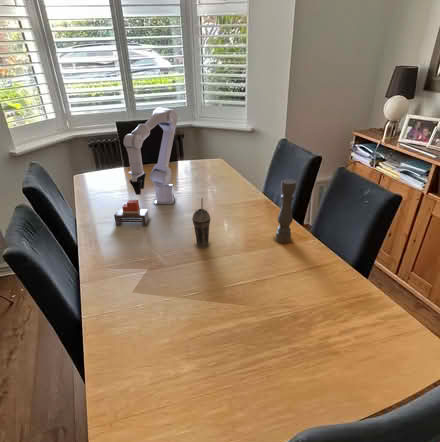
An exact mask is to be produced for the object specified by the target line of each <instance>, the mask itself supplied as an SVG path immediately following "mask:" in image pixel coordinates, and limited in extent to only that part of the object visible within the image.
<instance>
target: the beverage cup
mask: <svg viewBox="0 0 440 442" xmlns="http://www.w3.org/2000/svg"><path fill="white" fill-rule="evenodd" d="M200 199H201V203H200V204H201V207H200V208H199V209H196V210H195V211H194V213H193V214H192V224H193V227H194V234H195V241H196V246H197V247H198V248H200V249H201V248H208V246H209V240H210V239H209V238H210V237H209V236H210V224H211V216H210V212H208V211H207V210H206V209H204V208H203V205H204V198H203V197H201V198H200Z"/></svg>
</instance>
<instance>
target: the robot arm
mask: <svg viewBox="0 0 440 442" xmlns="http://www.w3.org/2000/svg"><path fill="white" fill-rule="evenodd" d="M177 124H178V114H177V111H176V109H174V108H163V107H156V108H155V109H154V110H153V111H152V115H150V117H149V118H148V120H147V121H145V123H139V124H138V125H137V127H136V128H135V129H134V130H132V131H131V133H127V134H126V135H125V136H124V137H123V142H122V143H123V146H124V147H125V148H126V152H127V156H128V163H129V169H130V170H129V171H128V175H130V177H131V178H130V179H129V183H130V185H131V186H132V189H133V191H134V193H135V195H136V196H137V195H138V196H139V195H141V194H142V190H144V189H145V181H146V177H147V172H145V171H144V166H143V165H144V164H143V159H142V152H141V148H142V147H143V143H144V141H145V140H146V139H147V138H148V137H149V136H150V134H151V130H153V129H155V127H156V126H159V127H160V128H161V129H162V131H163V133H162V138H161V143H160V148H159V153H158V158H157V163H156V164H155V165H154V166H153V167H152V170H151V172H150V175H149V179H150V182H152V184H153V185H154V193H155V201H154V204H155V205H159V204H160V205H169V204H170V205H173V204H174V202H175V190H174V184H171V182H172V179H173V177H172V173H173V172H172V169H171V168H170V167H169V165H170V158H171V153H172V148H173V143H174V138H175V133H176V128H177Z"/></svg>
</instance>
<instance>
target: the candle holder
mask: <svg viewBox="0 0 440 442" xmlns="http://www.w3.org/2000/svg"><path fill="white" fill-rule="evenodd" d="M296 190H297V180H295V179H293V178H284V179H282V180H281V181H280V191H281V195H280V199H281V208H280V210H279V213H278V215H277V222H278V227H277V228H276V232H275V241H276V242H278V243H280V244H287V243H290V242H291V239H292V238H291V237H292V232H291V231H292V229H291V227H290V226H291V225H292V223H293V220H294V218H293V211H292V209H293V208H292V205H293V204H292V203H293V200H294V199H295V195H294V194H295V192H296Z"/></svg>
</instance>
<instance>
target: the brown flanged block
mask: <svg viewBox="0 0 440 442" xmlns="http://www.w3.org/2000/svg"><path fill="white" fill-rule="evenodd" d="M113 217H114V218H113V219H114V221H115V222H114V223H115V226H120V224H121V223H134V224H135V223H136V224H137V223H139V224H140V223H142V224H143V226H147V224H148V222H149V220H150V218H149V217H150V216H149V210H148V209H147V208H140V211H139V213H138V214H123V208H122V209H121V208H118V209H117V210H116V212H115V213H114V215H113Z"/></svg>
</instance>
